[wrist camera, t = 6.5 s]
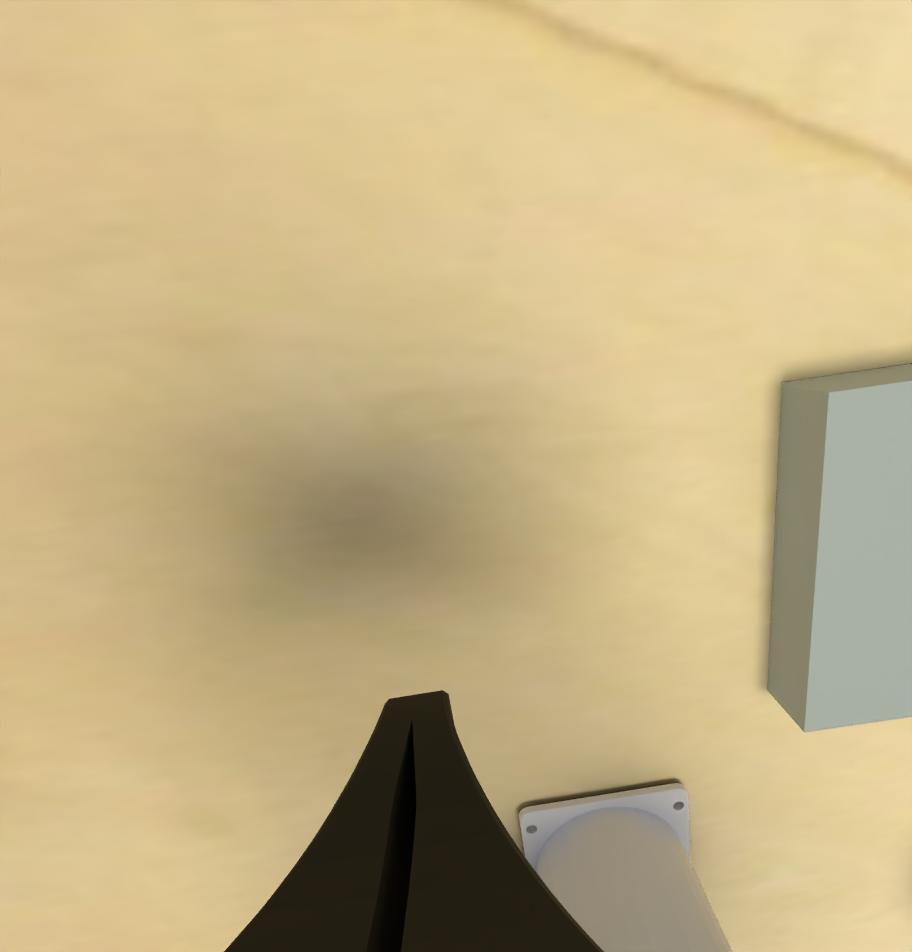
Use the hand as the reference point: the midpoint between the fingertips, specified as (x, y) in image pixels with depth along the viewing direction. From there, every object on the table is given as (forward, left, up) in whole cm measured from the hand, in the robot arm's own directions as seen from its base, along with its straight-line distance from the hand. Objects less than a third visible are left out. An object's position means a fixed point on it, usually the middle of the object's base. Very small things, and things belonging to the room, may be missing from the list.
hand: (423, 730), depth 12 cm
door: (-3, -19, -10) cm, 22 cm away
